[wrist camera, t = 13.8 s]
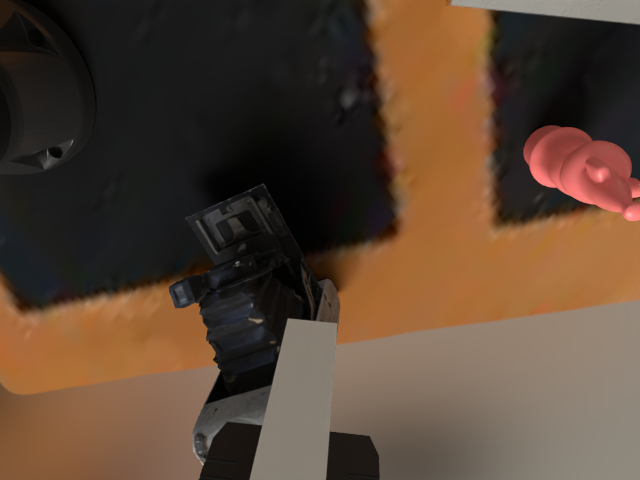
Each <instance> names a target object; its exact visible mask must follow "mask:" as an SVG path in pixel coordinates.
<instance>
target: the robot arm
mask: <svg viewBox="0 0 640 480" xmlns="http://www.w3.org/2000/svg"><path fill="white" fill-rule="evenodd" d="M95 110H96V107H95V94H94V88H93V84H92V81H91V77H90V74H89V72H88V69H87V67H86V64H85V62H84V60H83V58H82V56H81V55H80V53H79V51H78V50H77V48H76V46H75V45H74V43H73V42H72V41H71V39H70V38H69V37H68V36H67V34H66V33H65V32H64V31H63V30H62V29H61V28H60V27H59V26H58V25H57V24H56V23H55V22H54V21H53V20H52V19H51V18H49V17H48V16H47V15H46V14H44V13H43V12H42V11H40V10H39V9H37V8H35V7H34V6H32V5H30V4H28V3H26V2H24V1H22V0H0V174H33V173H39V172H43V171H46V170H49V169H52V168H54V167H56V166H58V165H60V164H62V163H64V162H66V161H68V160H70V159H71V158H73V157H74V156H75V155H77V154H78V153H79V152H80V151H81V149H82V148H83V147H84V146H85V144H86V142H87V141H88V139H89V137H90V134H91V132H92V129H93V125H94V120H95ZM336 337H337V323H328V322H319V321H309V320H299V319H289V318H288V320H287V324H286V328H285V333H284V337H283V341H282V345H281V349H280V354H279V358H278V362H277V366H276V370H275V375H274V379H273V383H272V387H271V391H270V396H269V400H268V404H267V408H266V413H265V417H264V421H263V425H255V424H246V423H237V422H228V421H227V422H226V423H225V425H224V426H223V427H222V428H221V429H220V430H219V432H218V433H217V434H216V435H215V436H214V437H213V439H212V442H211V445H210V448H209V451H208V454H207V457H206V461H205V462H204V465H203V468H202V471H201V474H200V479H199V480H379V477H380V475H379V455H378V453H377V451H376V449H375V447H374V445H373V442H372V440H371V438H370V436H365V435H356V434H347V433H338V432H330V417H331V405H332V391H333V378H334V364H335V350H336Z"/></svg>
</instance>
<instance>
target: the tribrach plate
mask: <svg viewBox="0 0 640 480" xmlns="http://www.w3.org/2000/svg"><path fill="white" fill-rule="evenodd" d="M447 6H455V7H465V8H475V9H485V10H495V11H504V12H514V13H524V14H534V15H544V16H554V17H564V18H573V19H583V20H593V21H603V22H613V23H623V24H632V25H640V0H448V1H447Z"/></svg>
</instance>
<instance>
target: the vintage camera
mask: <svg viewBox="0 0 640 480" xmlns="http://www.w3.org/2000/svg"><path fill="white" fill-rule="evenodd" d="M186 220H187V221H188V223H189V225H190V226H191V228H192V229H193V231H194V232H195V234H196V235H197V237H198V238H199V240H200V242H201V243H202V245H203V246H204V248H205V249H206V251H207V252H208V254H209V255H210V257H211V259H212V260H213V262H214V263H215V265H216V266H214V267H211V268H210V270H209V271H208V272H205V273H203V274H201V275H194V276H188V277H186V278H184V279H183V280H181V281H178V282H176V283H174V284H173V285H171V286H169V292H170V295H171V297H172V299H173V303H174V306H175V308H185V307H187V306H189V305H191V304H193V303H195V302H196V303H199V307H201V309H200V313H199V314H200V315H202V317H203V323H204V324H205V325H206V327H207V328H208V330H207V336H206V339H207V340H206V341H208V340H209V344H210V345H212V347H213V349H214V350H215V352H216V355H215V358H214V359H213V361H214V362H216V363H217V364H218V368H219V369H220V370H221V371H220V373H219V375H218V377H217V379H216V381H215V383H214V385H213V388H212V390H211V392H210V394H209V396H208V398H207V400H206V402H205V404H204V406H203V408H202V410H201V413H200V415H199V417H198V419H197V422H196V424H195V427H194V429H193V451H194V453H195V454H196V456H197V457H198V459H199V460H200V462H201V463H202V465H204V462H205V461H206V457H207V454H208V451H209V448H210V445H211V442H212V439H213V437H214V436H215V435H216V434H217V433H218V432H219V430H220V429H221V428H222V427H223V426H224V425H225V423H226V422H227V421H228V422H237V423H246V424H255V425H263V421H264V417H265V413H266V408H267V404H268V400H269V396H270V391H271V387H272V383H273V379H274V375H275V370H276V366H277V362H278V358H279V354H280V349H281V345H282V341H283V337H284V333H285V328H286V324H287V320H288V318H289V319H299V320H309V321H319V322H328V323H337V330H338V322H339V313H340V301H339V297H338V294H337V290H336V288H335V286H334V284H333V283H332V281H331V280H329V279H325V280H321V281H318V282H317V280H316V278H315V276H314V274H313V273H312V271H311V269H310V268H309V267H308V265H307V263H306V261H305V258H304V256H303V254H302V252H301V250H300V248H299V246H298V245H297V243H296V241H295V239H294V237H293V235H292V234H291V232H290V230H289V228H288V226H287V225H286V223H285V221H284V219H283V217H282V215H281V214H280V212H279V210H278V208H277V206H276V205H275V203H274V201H273V199H272V197H271V196H270V194H269V192H268V190H267V188H266V187H265V185H264V184H261V185H259V186H257V187H255V188H252V189H250V190H248V191H246V192H243V193H241V194H239V195H237V196H234V197H232V198H230V199H227V200H225V201H223V202H220V203H218V204H216V205H214V206H211V207H209V208H207V209H204V210H202V211H200V212H197V213H195V214H193V215H191V216H189V217H186ZM336 338H337V337H336Z"/></svg>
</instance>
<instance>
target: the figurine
mask: <svg viewBox="0 0 640 480" xmlns="http://www.w3.org/2000/svg"><path fill="white" fill-rule="evenodd" d="M524 158H525V160H526V162H527V163H528V164H529V165H530V171H531V173H532V175H533V177H534V178H535V179H536V180H537V181H538V182H539V183H541V184H542V185H545V186H548V187H557V188H558V189H559V190H561V191H562V192H564V193H565V194H567V195H570V196H572V197H574V198H575V199H577V200H579V201H582V202H585V203H589V204H596V205H597V206H599V207H601V208H603V209H606V210H609V211H614V212H622V216H623V217H624V218H626V219H627V220H630V221H637V220H640V203H639V202H636V201H632V198H634V197H640V181H639V180H637V179H635V178H629V177H630V174H631V170H632V165H631V161H630V158H629V156H628V155H627V153H626V152H625V151H624V150H623V149H622V148H620V147H619V146H617V145H616V144H613V143H611V142H607V141H592V139H591V138H590V136H589V135H588V134H586V133H585V132H584V131H582V130H580V129H577V128H573V127H563V128H562V127H559V126H555V125H549V126H544V127H542V128H539V129H538V130H536V131H535V132H533V133H532V134H531V135H530V137H529V138H528V139H527V141H526V143H525V146H524Z"/></svg>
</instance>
